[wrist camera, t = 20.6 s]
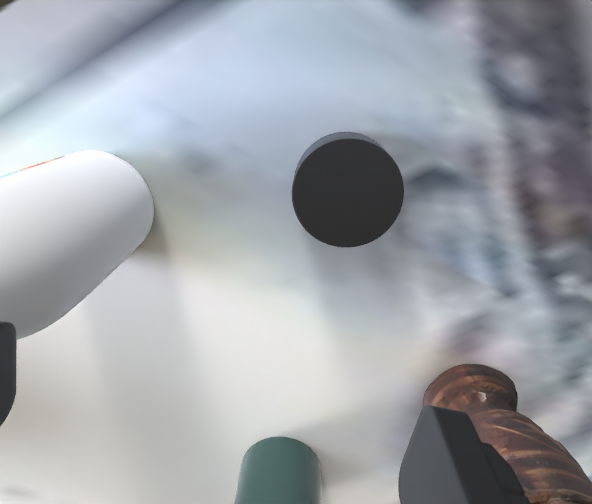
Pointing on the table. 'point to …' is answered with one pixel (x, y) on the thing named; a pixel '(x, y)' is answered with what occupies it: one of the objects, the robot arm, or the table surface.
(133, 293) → the table surface
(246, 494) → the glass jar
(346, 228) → the lid
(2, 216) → the milk bottle
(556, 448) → the mortar and pestle
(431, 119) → the table surface
